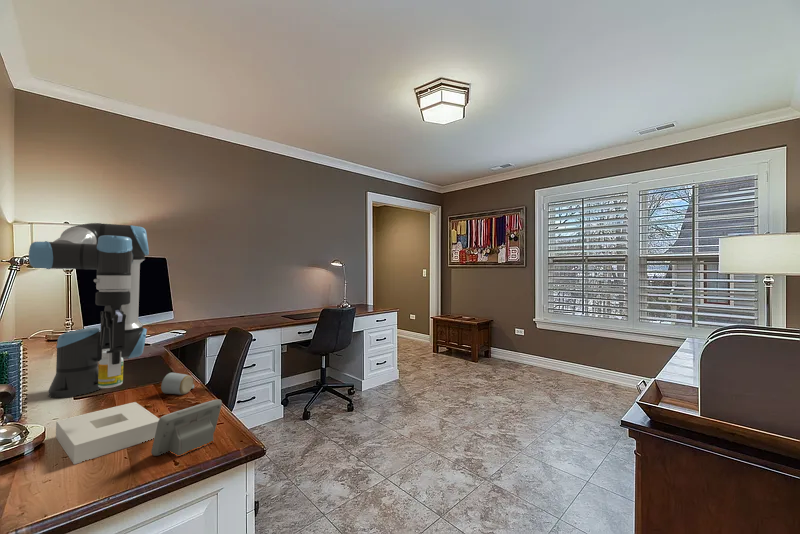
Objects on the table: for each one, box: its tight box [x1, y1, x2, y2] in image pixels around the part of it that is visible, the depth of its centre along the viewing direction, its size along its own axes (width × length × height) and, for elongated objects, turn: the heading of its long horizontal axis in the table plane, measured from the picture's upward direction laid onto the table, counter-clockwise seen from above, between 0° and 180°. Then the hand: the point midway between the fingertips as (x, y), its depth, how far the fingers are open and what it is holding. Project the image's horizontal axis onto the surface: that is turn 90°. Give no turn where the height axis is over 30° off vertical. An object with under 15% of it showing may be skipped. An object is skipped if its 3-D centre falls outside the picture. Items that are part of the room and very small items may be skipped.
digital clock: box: [150, 398, 223, 457], centre depth 91 cm, size 16×9×11 cm, turn 137°
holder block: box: [55, 401, 160, 465], centre depth 95 cm, size 22×18×4 cm
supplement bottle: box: [98, 350, 125, 389], centre depth 96 cm, size 5×5×10 cm
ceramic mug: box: [160, 372, 195, 396], centre depth 131 cm, size 11×8×8 cm
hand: (110, 373), depth 96 cm, fingers closed on supplement bottle, 5 cm apart
